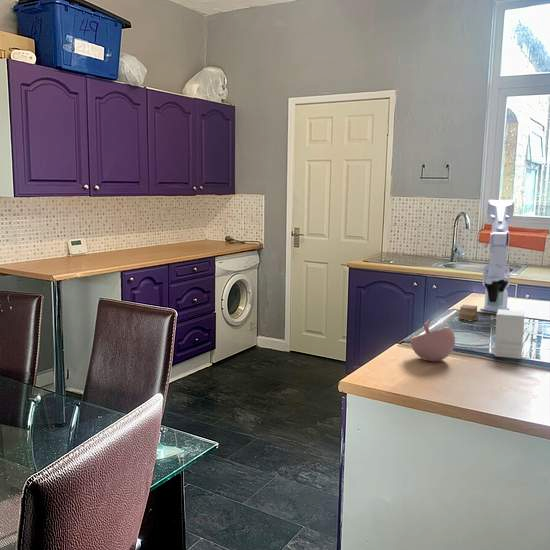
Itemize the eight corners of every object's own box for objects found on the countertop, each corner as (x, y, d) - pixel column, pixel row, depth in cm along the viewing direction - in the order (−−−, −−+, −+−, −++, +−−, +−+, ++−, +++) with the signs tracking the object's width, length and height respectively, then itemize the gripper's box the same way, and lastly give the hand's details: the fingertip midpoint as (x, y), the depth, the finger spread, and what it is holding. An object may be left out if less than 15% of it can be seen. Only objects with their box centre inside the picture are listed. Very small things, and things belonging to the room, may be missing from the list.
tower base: (464, 317, 211) (465, 311, 211) (477, 319, 208) (478, 313, 207) (458, 319, 207) (459, 313, 207) (471, 322, 204) (472, 315, 204)
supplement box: (521, 352, 166) (525, 310, 164) (521, 359, 159) (524, 316, 157) (495, 349, 169) (497, 308, 167) (493, 356, 162) (496, 313, 160)
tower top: (462, 311, 210) (463, 304, 210) (476, 312, 208) (477, 306, 208) (459, 313, 206) (460, 307, 206) (474, 315, 204) (474, 308, 203)
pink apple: (423, 351, 166) (425, 313, 165) (461, 360, 158) (464, 321, 156) (401, 360, 158) (402, 320, 156) (439, 370, 150) (442, 328, 148)
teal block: (491, 303, 211) (492, 290, 210) (502, 305, 208) (503, 291, 207) (487, 305, 208) (488, 291, 207) (498, 306, 205) (499, 293, 205)
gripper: (500, 267, 198) (497, 305, 200) (516, 263, 208) (513, 299, 210) (480, 265, 203) (478, 302, 205) (497, 261, 213) (495, 296, 215)
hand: (495, 300), depth 208 cm, fingers closed on teal block, 4 cm apart
